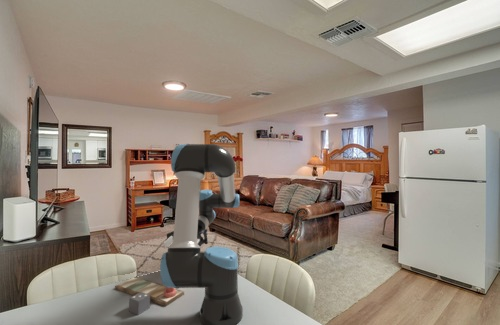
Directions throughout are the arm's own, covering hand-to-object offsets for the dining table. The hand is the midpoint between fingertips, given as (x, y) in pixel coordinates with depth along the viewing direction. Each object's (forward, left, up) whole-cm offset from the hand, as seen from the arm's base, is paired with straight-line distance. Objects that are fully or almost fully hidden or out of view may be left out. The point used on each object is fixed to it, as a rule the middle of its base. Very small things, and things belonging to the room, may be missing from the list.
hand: (178, 247), depth 109 cm
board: (+10, +7, -18) cm, 22 cm away
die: (+2, +18, -18) cm, 26 cm away
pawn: (-2, +7, -17) cm, 18 cm away
